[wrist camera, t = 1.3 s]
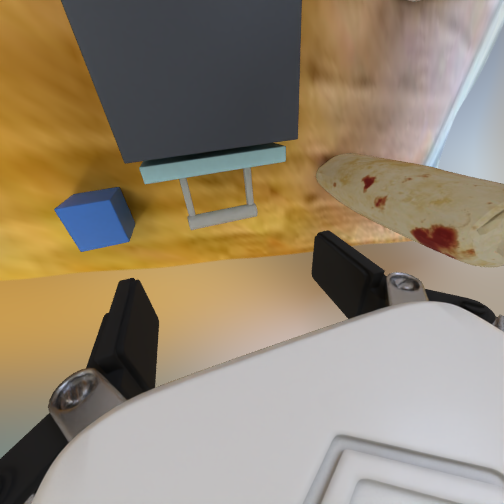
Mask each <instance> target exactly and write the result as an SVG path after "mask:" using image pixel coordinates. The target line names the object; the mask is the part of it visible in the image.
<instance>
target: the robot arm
mask: <svg viewBox="0 0 504 504" xmlns="http://www.w3.org/2000/svg"><path fill="white" fill-rule="evenodd" d="M408 1H420V0H408ZM312 277H313V279H314V280H315V281H316V282H317V283H318V285H319V286H320V287H321V288H322V289H323V290H324V291H325V292H326V294H327V295H328V296H329V297H330V298H331V299H332V301H333V302H334V303H335V304H336V305H337V306H338V307H339V309H340V310H341V311H342V312H343V313H344V314H345V315H346V317H347V318H348V320H345V321H342V322H339V323H336V324H333V325H330V326H327V327H324V328H322V329H318V330H315V331H312V332H309V333H307V334H304V335H301V336H298V337H295V338H292V339H289V340H287V341H284V342H281V343H278V344H275V345H272V346H269V347H266V348H264V349H261V350H258V351H255V352H252V353H249V354H246V355H244V356H241V357H238V358H235V359H232V360H229V361H226V362H224V363H221V364H218V365H215V366H212V367H210V368H207V369H204V370H201V371H198V372H196V373H193V374H191V375H187V376H185V377H182V378H179V379H177V380H174V381H171V382H169V383H166V384H163V385H160V386H158V387H156V388H155V379H156V363H157V347H158V332H159V320H158V317H157V315H156V313H155V311H154V309H153V307H152V305H151V303H150V300H149V298H148V296H147V295H146V293H145V290H144V288H143V286H142V284H141V282H140V281H139V280H135V279H134V278H130V279H126V280H122V281H120V282H119V283H118V286H117V289H116V293H115V296H114V299H113V302H112V305H111V308H110V311H109V313H106V314H105V315H104V317H103V320H102V323H101V326H100V329H99V332H98V335H97V338H96V341H95V344H94V347H93V349H92V352H91V356H90V358H89V361H88V364H87V367H86V369H82V370H80V371H77V372H75V373H73V374H72V375H71V376H69V377H68V378H66V379H65V380H64V381H63V382H62V383H61V384H60V385H59V386H58V387H57V388H56V390H55V391H54V392H53V394H52V396H51V398H50V400H49V405H48V408H49V412H50V413H49V414H48V415H47V416H46V417H45V418H44V419H42V420H41V421H40V423H38V424H37V425H36V426H35V427H34V428H33V429H32V430H31V431H30V432H29V433H28V434H26V435H25V436H24V437H23V438H22V439H21V440H20V441H19V442H18V443H17V444H16V445H15V446H14V447H13V448H12V449H10V450H9V452H7V453H6V454H5V455H4V456H3V457H2V458H1V459H0V504H504V316H502V315H499V316H498V317H496V316H495V314H494V313H493V312H492V311H491V310H490V309H489V308H488V307H487V306H485V305H483V304H482V303H480V302H478V301H475V300H472V299H469V298H464V297H460V296H455V295H451V294H446V293H441V292H437V291H432V290H428V289H425V288H424V286H423V284H422V282H421V281H420V280H419V279H417V278H415V277H414V276H411V275H409V274H405V273H399V272H396V273H391V274H389V275H388V276H385V275H384V270H383V269H382V268H380V267H379V266H377V265H376V264H375V263H373V262H372V261H370V260H369V259H368V258H366V257H365V256H364V255H362V254H361V253H359V252H358V251H357V250H355V249H354V248H353V247H351V246H350V245H348V244H347V243H346V242H344V241H343V240H341V239H340V238H339V237H337V236H336V235H335V234H333V233H332V232H330V231H323V232H319V233H318V234H317V236H315V241H314V252H313V263H312Z"/></svg>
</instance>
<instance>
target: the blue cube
mask: <svg viewBox="0 0 504 504" xmlns="http://www.w3.org/2000/svg"><path fill="white" fill-rule="evenodd" d="M54 210H55V212H56V213H57V215H58V217H59V218H60V220H61V221H62V223H63V224H64V226H65V228H66V229H67V231H68V232H69V234H70V235H71V237H72V239H73V240H74V242H75V243H76V245H77V246H78V248H79V250H80V251H81V252H83V251H88V250H93V249H97V248H102V247H107V246H112V245H116V244H121V243H126V242H129V241H130V238H131V236H132V233H133V230H134V227H135V222H134V219H133V217H132V215H131V212H130V210H129V208H128V205H127V203H126V201H125V198H124V196H123V194H122V191H121V189H120V187H115V188H109V189H103V190H96V191H90V192H84V193H78V194H73V195H72V196H70V197H69V198H68V199H67V200H65V201H64V202H63V203H62V204H60V205H59V206H58V207H56V208H55V209H54Z"/></svg>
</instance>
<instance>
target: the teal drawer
mask: <svg viewBox="0 0 504 504" xmlns="http://www.w3.org/2000/svg"><path fill="white" fill-rule="evenodd" d="M285 161H286V146H283V145H279V144H275V143H267V144H260V145H253V146H246V147H238V148H231V149H224V150H217V151H210V152H203V153H196V154H189V155H182V156H175V157H168V158H161V159H154V160H147V161H143V163H142V164H141V166H140V167H139V169H140V172H141V174H142V177H143V180H144V183H145V184H150V183H156V182H162V181H169V180H175V179H179V180H180V183H181V187H182V191H183V195H184V198H185V202H186V206H187V209H188V213H189V216H188V222H189V226H190V229H191V230H194V229H198V228H203V227H208V226H213V225H217V224H222V223H227V222H231V221H236V220H241V219H246V218H250V217H255V216H257V208H256V205H255V203H254V202H253V190H252V178H251V167H255V166H261V165H267V164H273V163H279V162H285ZM242 168H243V171H244V181H245V190H246V200H247V205H242V206H237V207H232V208H227V209H222V210H217V211H212V212H207V213H202V214H197V215H195V211H194V207H193V203H192V199H191V195H190V191H189V187H188V183H187V179H186V178H187V177H193V176H199V175H205V174H212V173H218V172H224V171H230V170H236V169H242Z"/></svg>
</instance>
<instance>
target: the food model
mask: <svg viewBox="0 0 504 504" xmlns="http://www.w3.org/2000/svg"><path fill="white" fill-rule="evenodd" d="M316 179H317V181H318V183H319V184H320V185H321V186H322V187H323V188H324V189H325V190H326V191H327V192H328V193H330V194H331V195H332V196H333V197H335V198H336V199H337V200H338V201H340V202H341V203H342V204H344V205H345V206H347V207H349V208H350V209H352V210H353V211H355V212H357V213H358V214H360V215H362V216H364V217H366V218H368V219H370V220H372V221H374V222H376V223H378V224H380V225H382V226H384V227H386V228H388V229H390V230H392V231H394V232H396V233H399V234H401V235H403V236H405V237H407V238H409V239H411V240H413V241H415V242H418V243H420V244H422V245H424V246H426V247H429V248H431V249H433V250H436V251H438V252H440V253H442V254H445V255H447V256H449V257H452V258H454V259H457V260H459V261H462V262H464V263H467V264H470V265H474V266H480V267H499V266H504V184H501V183H497V182H492V181H488V180H483V179H478V178H474V177H469V176H465V175H461V174H456V173H453V172H448V171H444V170H441V169H437V168H434V167H429V166H424V165H419V164H414V163H408V162H402V161H396V160H391V159H384V158H378V157H372V156H366V155H360V154H352V153H349V154H341V155H337V156H335V157H333V158H331V159H330V160H329V161H327V162H326V163H325V164H323V165H322V166H321V167H320V168H318V170H317V173H316Z"/></svg>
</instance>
